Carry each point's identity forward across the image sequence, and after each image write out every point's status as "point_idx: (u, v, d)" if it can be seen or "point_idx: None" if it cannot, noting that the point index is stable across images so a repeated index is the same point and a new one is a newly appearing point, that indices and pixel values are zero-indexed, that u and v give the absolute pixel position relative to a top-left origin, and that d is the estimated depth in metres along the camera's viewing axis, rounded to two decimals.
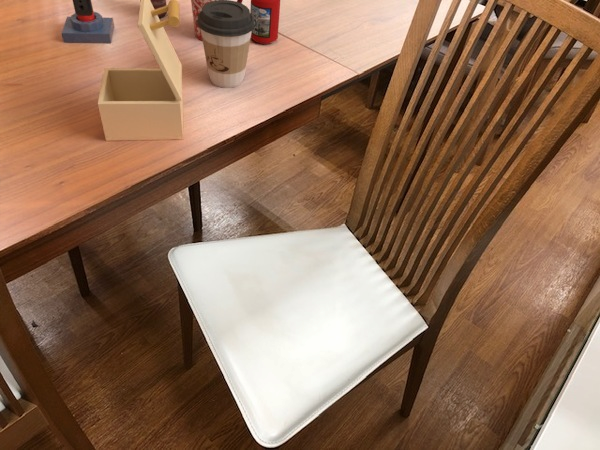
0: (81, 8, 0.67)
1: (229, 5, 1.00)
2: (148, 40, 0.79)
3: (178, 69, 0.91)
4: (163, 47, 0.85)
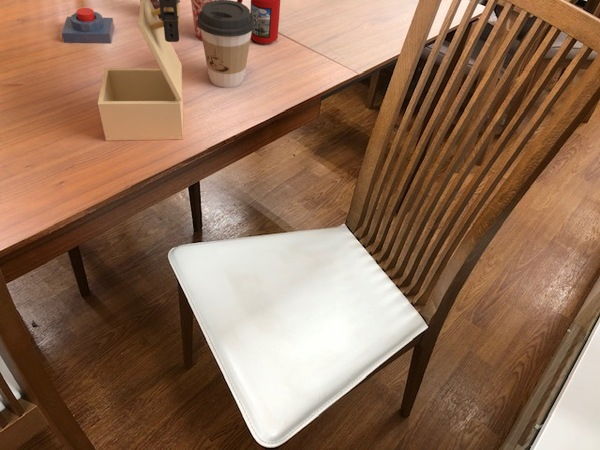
0: (170, 36, 0.80)
1: (229, 5, 1.00)
2: (148, 40, 0.79)
3: (178, 69, 0.91)
4: (163, 47, 0.85)
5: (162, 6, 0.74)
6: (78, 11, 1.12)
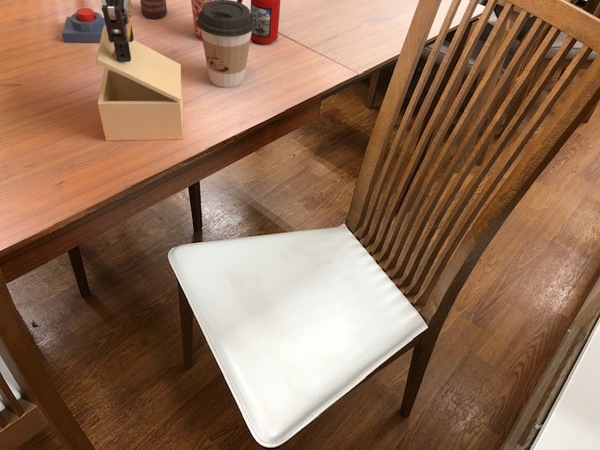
0: (122, 56, 0.82)
1: (229, 5, 1.00)
2: (113, 68, 0.81)
3: (173, 71, 0.91)
4: (141, 63, 0.87)
5: (109, 28, 0.76)
6: (78, 11, 1.12)
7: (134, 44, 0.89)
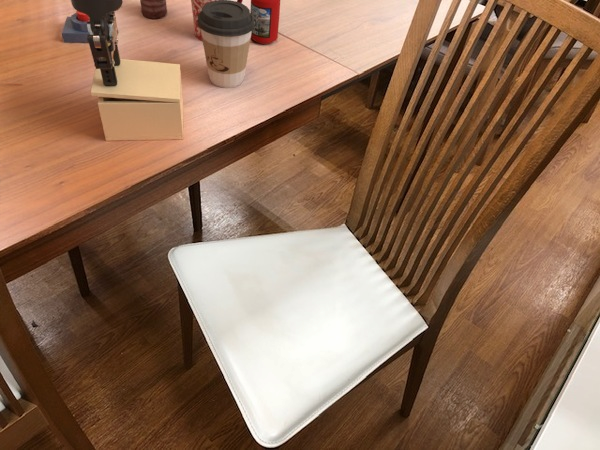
0: (108, 81, 0.84)
1: (229, 5, 1.00)
2: (108, 95, 0.84)
3: (171, 74, 0.92)
4: (136, 79, 0.89)
5: (95, 56, 0.78)
6: (78, 11, 1.12)
7: (129, 63, 0.92)
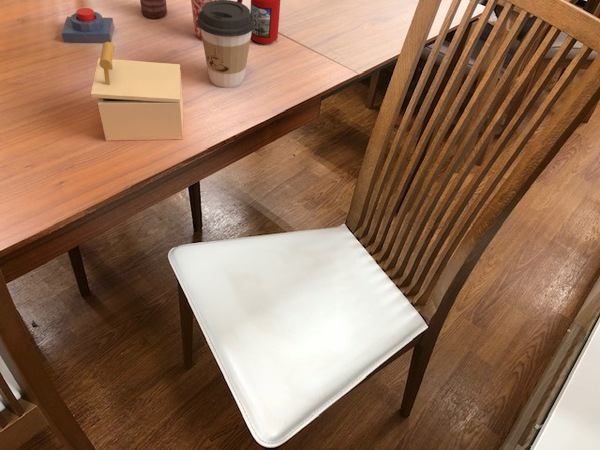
0: None
1: (229, 5, 1.00)
2: (108, 96, 0.84)
3: (171, 74, 0.92)
4: (136, 80, 0.89)
5: None
6: (78, 11, 1.12)
7: (129, 64, 0.92)
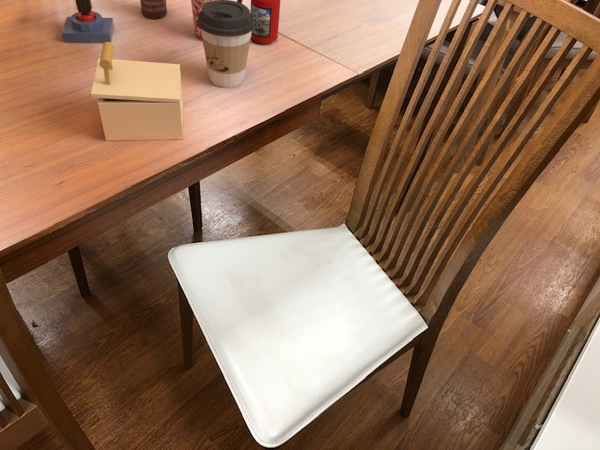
0: None
1: (229, 5, 1.00)
2: (108, 96, 0.84)
3: (171, 74, 0.92)
4: (136, 80, 0.89)
5: None
6: (78, 13, 1.12)
7: (129, 64, 0.92)
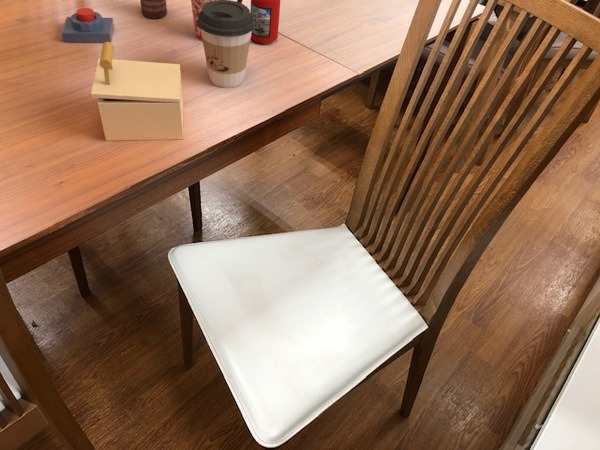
0: None
1: (229, 5, 1.00)
2: (108, 96, 0.84)
3: (171, 74, 0.92)
4: (136, 80, 0.89)
5: None
6: (78, 11, 1.12)
7: (129, 64, 0.92)
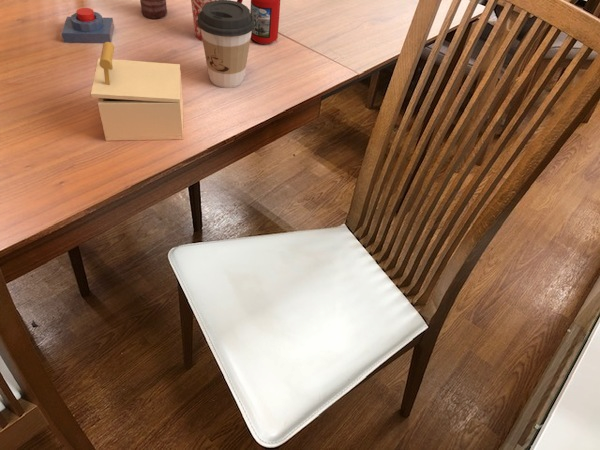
0: None
1: (229, 5, 1.00)
2: (108, 96, 0.84)
3: (171, 74, 0.92)
4: (136, 80, 0.89)
5: None
6: (78, 11, 1.12)
7: (129, 64, 0.92)
